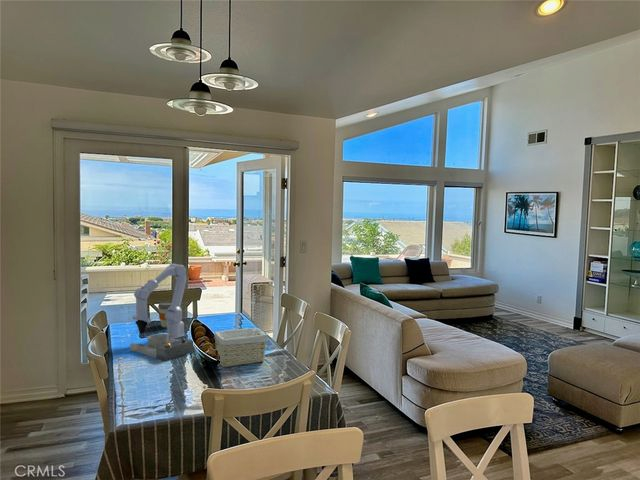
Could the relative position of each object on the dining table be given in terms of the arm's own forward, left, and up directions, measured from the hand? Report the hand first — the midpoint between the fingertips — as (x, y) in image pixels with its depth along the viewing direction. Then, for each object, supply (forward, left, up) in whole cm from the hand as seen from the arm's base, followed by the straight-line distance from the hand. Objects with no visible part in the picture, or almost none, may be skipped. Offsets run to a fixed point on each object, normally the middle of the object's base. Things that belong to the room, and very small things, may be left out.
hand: (141, 333), depth 242 cm
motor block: (0, +20, -6) cm, 21 cm away
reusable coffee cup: (-34, -22, -7) cm, 41 cm away
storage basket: (-14, +63, -7) cm, 65 cm away
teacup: (0, +17, -7) cm, 18 cm away
